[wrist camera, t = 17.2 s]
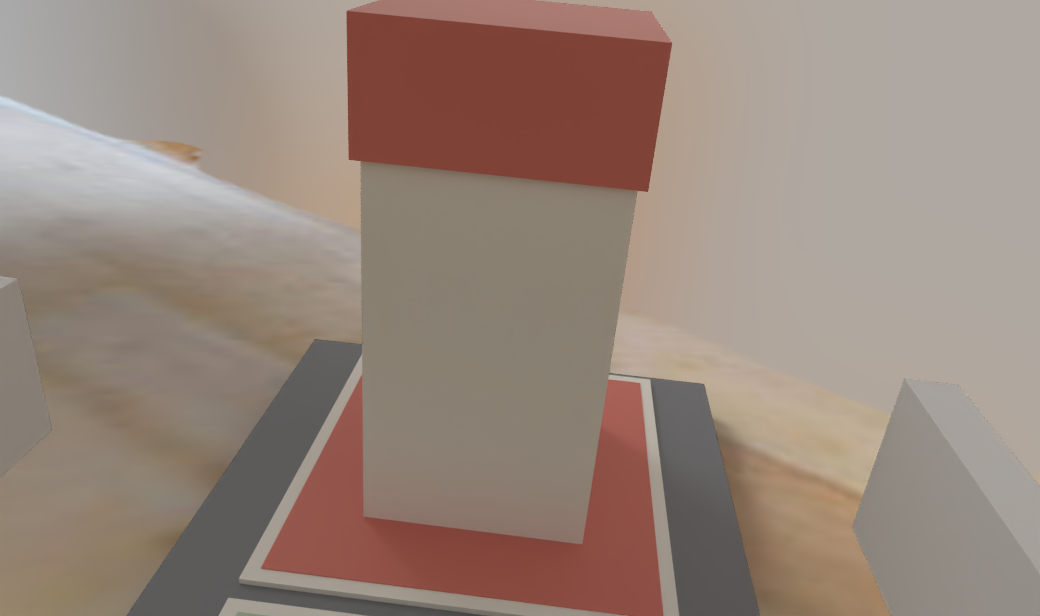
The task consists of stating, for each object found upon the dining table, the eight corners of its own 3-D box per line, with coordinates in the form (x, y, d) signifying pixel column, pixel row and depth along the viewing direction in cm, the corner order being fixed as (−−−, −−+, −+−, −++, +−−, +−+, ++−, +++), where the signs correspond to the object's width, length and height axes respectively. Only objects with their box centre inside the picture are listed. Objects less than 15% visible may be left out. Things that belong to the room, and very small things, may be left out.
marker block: (406, 394, 27) (415, -12, 21) (591, 416, 27) (651, 11, 21) (354, 520, 21) (346, 10, 15) (590, 550, 21) (672, 43, 15)
